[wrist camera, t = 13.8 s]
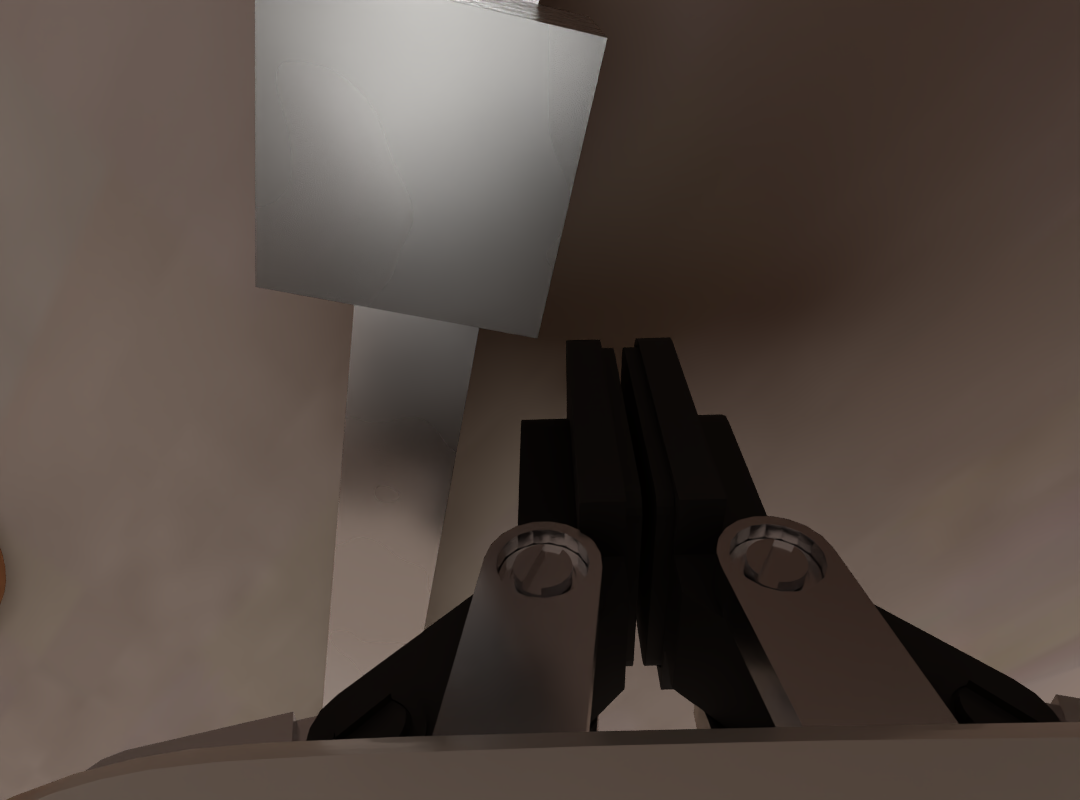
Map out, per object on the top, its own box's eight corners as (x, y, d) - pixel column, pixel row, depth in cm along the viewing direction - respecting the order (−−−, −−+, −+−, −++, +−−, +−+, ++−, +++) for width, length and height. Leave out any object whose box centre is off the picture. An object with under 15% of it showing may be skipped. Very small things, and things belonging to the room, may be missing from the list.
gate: (421, 703, 20) (367, 1068, 13) (348, 694, 19) (256, 1062, 13) (569, -54, 10) (631, -62, 4) (431, -89, 10) (254, -160, 4)
